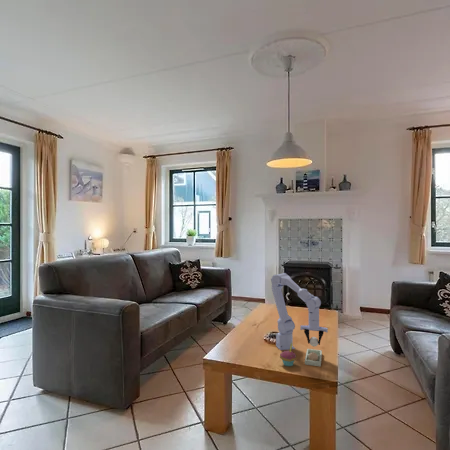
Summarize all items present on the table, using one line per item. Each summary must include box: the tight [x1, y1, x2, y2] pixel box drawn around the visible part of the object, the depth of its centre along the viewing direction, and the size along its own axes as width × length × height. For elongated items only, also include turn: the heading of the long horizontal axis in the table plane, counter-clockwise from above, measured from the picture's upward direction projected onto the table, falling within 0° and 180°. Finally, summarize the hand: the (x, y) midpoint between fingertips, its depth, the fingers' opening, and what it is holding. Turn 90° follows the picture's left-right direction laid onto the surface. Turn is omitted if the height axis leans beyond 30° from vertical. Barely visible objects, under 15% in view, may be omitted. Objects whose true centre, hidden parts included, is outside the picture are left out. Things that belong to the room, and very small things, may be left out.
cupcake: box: [279, 343, 297, 367], centre depth 163 cm, size 9×8×12 cm
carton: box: [304, 348, 323, 367], centre depth 169 cm, size 16×8×2 cm, turn 161°
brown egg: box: [308, 352, 318, 361], centre depth 165 cm, size 5×5×5 cm
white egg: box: [309, 336, 319, 347], centre depth 172 cm, size 5×5×5 cm
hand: (314, 343), depth 172 cm, fingers closed on white egg, 5 cm apart
